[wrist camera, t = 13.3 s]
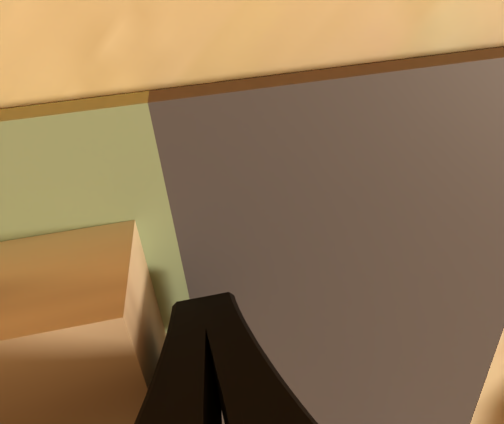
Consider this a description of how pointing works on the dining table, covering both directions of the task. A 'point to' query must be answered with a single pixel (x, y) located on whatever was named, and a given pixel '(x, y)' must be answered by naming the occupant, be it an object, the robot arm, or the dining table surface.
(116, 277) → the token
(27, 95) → the dining table surface
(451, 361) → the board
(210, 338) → the robot arm
